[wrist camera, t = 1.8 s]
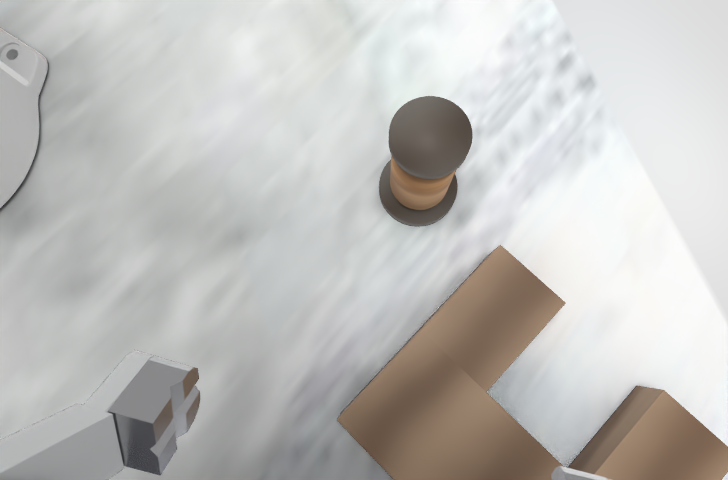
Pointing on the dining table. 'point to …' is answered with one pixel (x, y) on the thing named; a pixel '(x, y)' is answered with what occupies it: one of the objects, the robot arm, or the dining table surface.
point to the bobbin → (424, 160)
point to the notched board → (487, 418)
